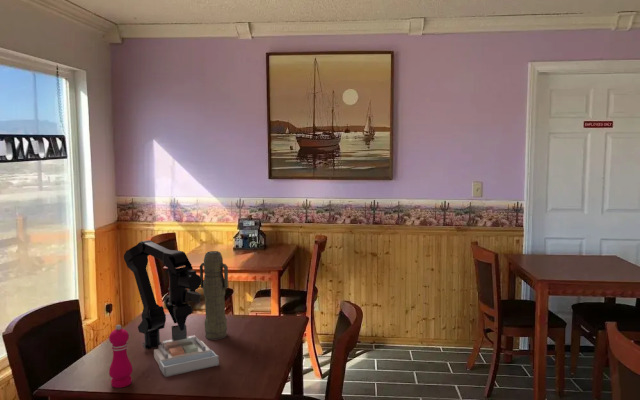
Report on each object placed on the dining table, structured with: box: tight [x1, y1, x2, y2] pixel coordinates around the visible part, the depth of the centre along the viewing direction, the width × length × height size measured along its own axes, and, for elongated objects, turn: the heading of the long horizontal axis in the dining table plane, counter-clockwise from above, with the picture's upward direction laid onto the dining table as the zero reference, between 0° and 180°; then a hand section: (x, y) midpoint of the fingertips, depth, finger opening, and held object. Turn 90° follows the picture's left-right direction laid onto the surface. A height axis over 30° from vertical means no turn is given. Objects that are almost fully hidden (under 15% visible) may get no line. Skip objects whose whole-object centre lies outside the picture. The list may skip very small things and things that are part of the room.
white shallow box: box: [153, 337, 211, 365], centre depth 196 cm, size 11×18×4 cm, turn 119°
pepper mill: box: [108, 324, 134, 389], centre depth 175 cm, size 7×7×20 cm
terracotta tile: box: [169, 347, 184, 356], centre depth 193 cm, size 4×4×1 cm
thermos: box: [199, 250, 229, 341], centre depth 217 cm, size 9×12×35 cm
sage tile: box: [182, 344, 198, 353], centre depth 196 cm, size 4×4×1 cm
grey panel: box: [162, 324, 197, 351], centre depth 199 cm, size 2×12×8 cm, turn 119°
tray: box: [158, 349, 220, 378], centre depth 188 cm, size 8×19×4 cm, turn 119°
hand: (178, 326), depth 198 cm, fingers open, 9 cm apart
